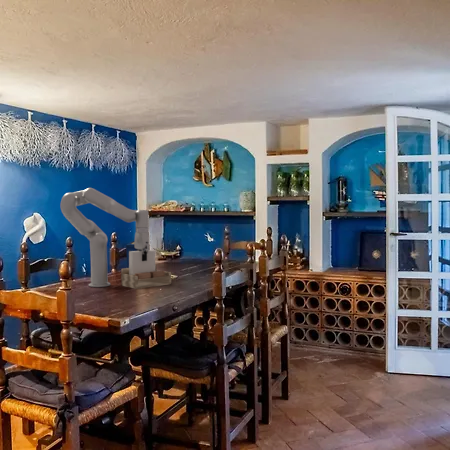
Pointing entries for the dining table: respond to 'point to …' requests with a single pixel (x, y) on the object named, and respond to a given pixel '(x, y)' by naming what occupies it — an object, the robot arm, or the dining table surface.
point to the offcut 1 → (143, 275)
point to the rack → (143, 280)
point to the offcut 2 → (157, 274)
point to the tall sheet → (141, 262)
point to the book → (130, 248)
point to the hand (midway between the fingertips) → (142, 260)
